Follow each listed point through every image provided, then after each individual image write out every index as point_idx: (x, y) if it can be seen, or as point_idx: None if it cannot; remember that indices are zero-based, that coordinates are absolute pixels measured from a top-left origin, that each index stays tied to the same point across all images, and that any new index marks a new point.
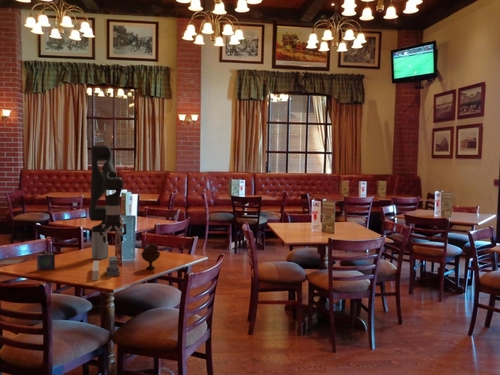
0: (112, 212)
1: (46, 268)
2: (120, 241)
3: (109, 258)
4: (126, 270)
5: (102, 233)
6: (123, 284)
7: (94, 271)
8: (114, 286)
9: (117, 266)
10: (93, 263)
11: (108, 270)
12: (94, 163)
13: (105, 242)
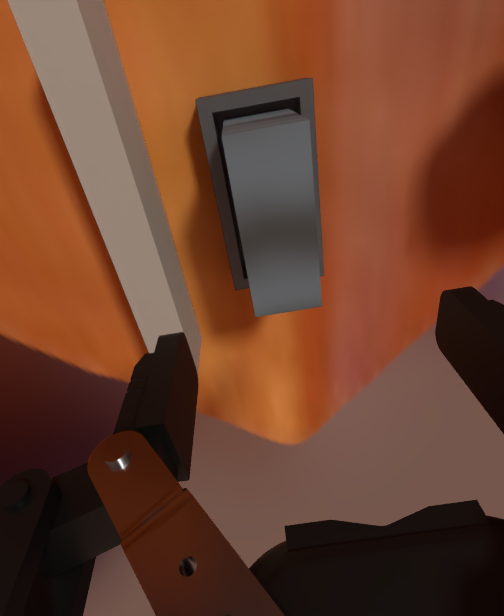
0: None
1: None
2: (443, 326)
3: (244, 239)
4: (371, 81)
5: (98, 553)
6: (339, 405)
7: None
8: (300, 427)
9: (299, 85)
10: (69, 147)
11: (218, 116)
12: None
13: (194, 384)
